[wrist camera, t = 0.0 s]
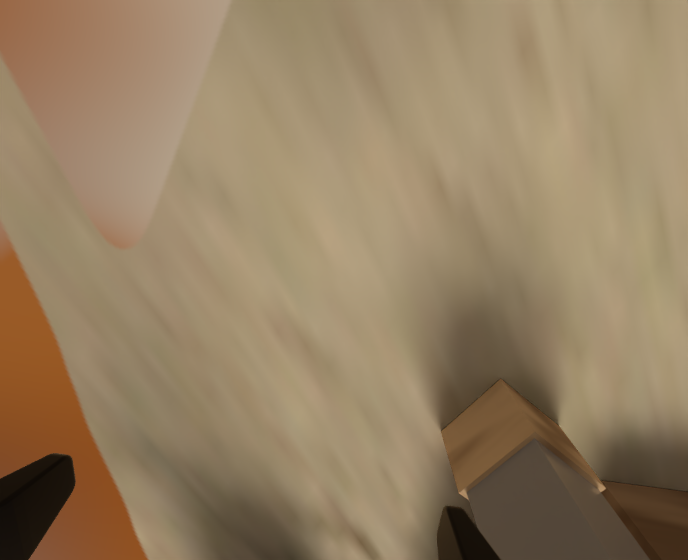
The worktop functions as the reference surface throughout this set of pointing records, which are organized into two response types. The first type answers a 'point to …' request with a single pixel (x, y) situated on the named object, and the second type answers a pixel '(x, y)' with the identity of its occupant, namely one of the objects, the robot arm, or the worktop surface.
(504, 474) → the stone
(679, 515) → the frame
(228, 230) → the worktop surface
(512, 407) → the brown cube-like block
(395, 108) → the worktop surface
